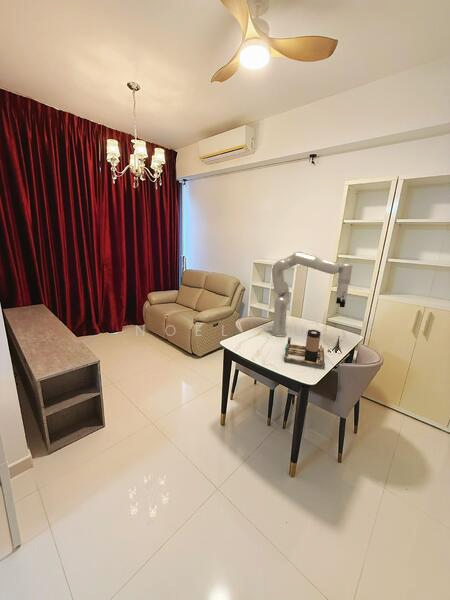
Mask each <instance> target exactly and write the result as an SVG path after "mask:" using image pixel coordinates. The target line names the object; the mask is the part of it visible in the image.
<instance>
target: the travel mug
mask: <svg viewBox="0 0 450 600" xmlns="http://www.w3.org/2000/svg"><path fill="white" fill-rule="evenodd" d="M321 334H322V333H321V331H320V330H316V329H308V330H307V333H306V341H305V346H306V348H305V350H304V351H305V357H304V360H305V361H310V362H316V363H318V359H317V356H318V350H319V349H320V343H321V342H320V340H321Z"/></svg>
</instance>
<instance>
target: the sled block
mask: <svg viewBox="0 0 450 600" xmlns="http://www.w3.org/2000/svg"><path fill="white" fill-rule="evenodd" d="M291 339H292V337H288V338H287V343H286V344H289V350H291V351H297V352H303V353H305V348H306V345H300V344H294V343H293V344H292V343H291V342H292V340H291ZM322 348H323V345H320V344H319V350H318V355H320V352H322Z"/></svg>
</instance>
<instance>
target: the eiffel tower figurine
mask: <svg viewBox="0 0 450 600" xmlns="http://www.w3.org/2000/svg"><path fill="white" fill-rule="evenodd" d="M333 347H334V348H331V350H332V351H333V350H335V353H337V351H338V350H339V351H340V352H341V353H340V354H343V351H342V350H341V347H340V335H338V339H337V341H336V345H335V346H333ZM329 352H330V353H331V351H330V350H329V349H328V350H327V353H329ZM330 353H329V354H330ZM335 353H334V354H335Z"/></svg>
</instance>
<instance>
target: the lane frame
mask: <svg viewBox="0 0 450 600" xmlns="http://www.w3.org/2000/svg"><path fill="white" fill-rule="evenodd" d="M322 359H323V361H322V366H318V365H312V364H307V363H302V362H296V361H291V360H285V359H283V362H284V363H286V364H291V365H297V366H302V367H307V368H313V369H317V370H323V371H325V368H326V364H325V363H326V361H325V348H324V347H322Z"/></svg>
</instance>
